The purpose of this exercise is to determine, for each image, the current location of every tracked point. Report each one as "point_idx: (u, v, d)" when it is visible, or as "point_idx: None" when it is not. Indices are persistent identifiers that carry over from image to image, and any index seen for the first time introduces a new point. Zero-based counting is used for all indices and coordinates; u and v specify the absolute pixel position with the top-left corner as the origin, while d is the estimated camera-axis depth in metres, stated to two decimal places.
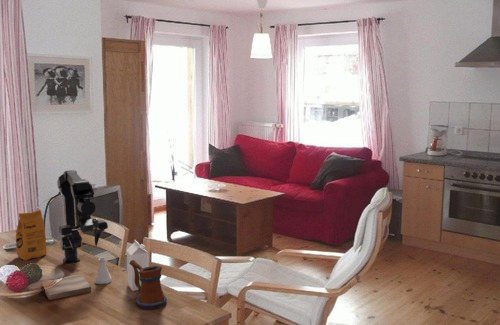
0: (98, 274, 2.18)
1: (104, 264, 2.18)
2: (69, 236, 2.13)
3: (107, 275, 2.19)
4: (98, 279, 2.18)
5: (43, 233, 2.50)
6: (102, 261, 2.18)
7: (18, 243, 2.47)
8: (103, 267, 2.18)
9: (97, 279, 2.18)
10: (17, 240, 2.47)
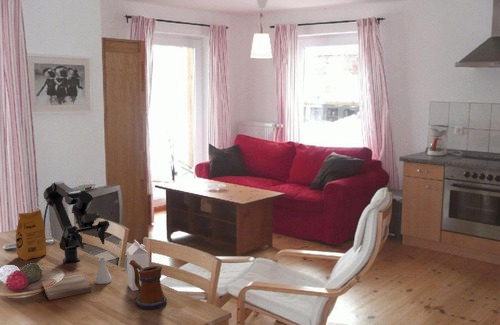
0: (98, 274, 2.18)
1: (104, 264, 2.18)
2: (75, 233, 2.21)
3: (107, 275, 2.19)
4: (98, 279, 2.18)
5: (43, 233, 2.50)
6: (102, 261, 2.18)
7: (18, 243, 2.47)
8: (103, 267, 2.18)
9: (97, 279, 2.18)
10: (17, 240, 2.47)
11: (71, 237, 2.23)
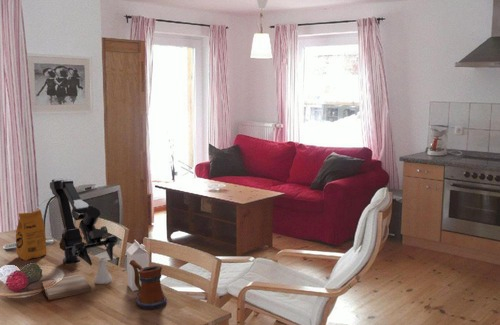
0: (98, 274, 2.18)
1: (104, 264, 2.18)
2: (83, 249, 2.16)
3: (107, 275, 2.19)
4: (98, 279, 2.18)
5: (43, 233, 2.50)
6: (102, 261, 2.18)
7: (18, 243, 2.47)
8: (103, 267, 2.18)
9: (97, 279, 2.18)
10: (17, 240, 2.47)
11: (79, 253, 2.18)
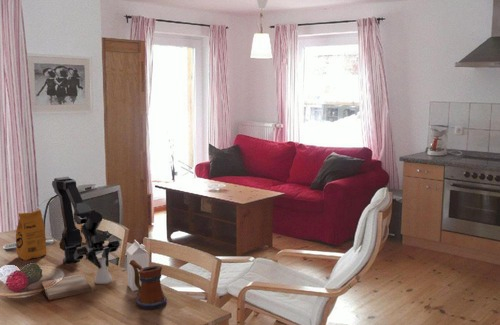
0: (98, 274, 2.18)
1: (104, 264, 2.18)
2: (92, 253, 2.17)
3: (107, 275, 2.19)
4: (98, 279, 2.18)
5: (43, 233, 2.50)
6: (102, 261, 2.18)
7: (18, 243, 2.47)
8: (103, 267, 2.18)
9: (97, 279, 2.18)
10: (17, 240, 2.47)
11: (88, 257, 2.18)
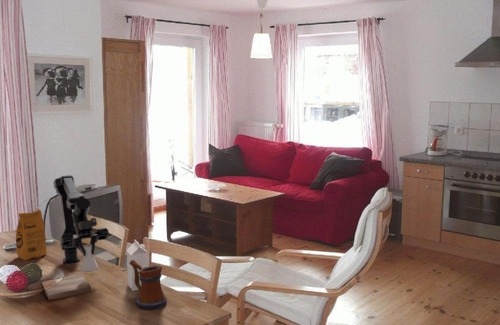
0: (83, 261, 2.14)
1: (89, 252, 2.14)
2: (77, 239, 2.13)
3: (92, 263, 2.14)
4: (83, 267, 2.13)
5: (43, 233, 2.50)
6: (87, 248, 2.13)
7: (18, 243, 2.47)
8: (88, 254, 2.13)
9: (82, 266, 2.14)
10: (17, 240, 2.47)
11: (74, 243, 2.15)
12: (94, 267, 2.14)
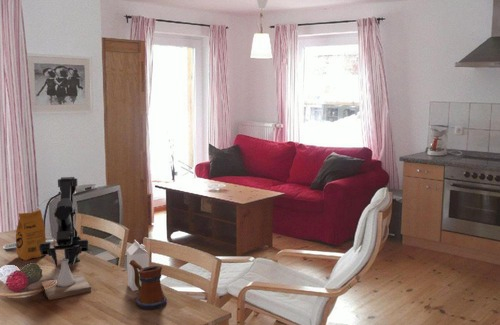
0: (59, 275, 2.11)
1: (65, 266, 2.10)
2: (51, 250, 2.10)
3: (67, 278, 2.10)
4: (58, 281, 2.11)
5: (43, 233, 2.50)
6: (63, 263, 2.10)
7: (18, 243, 2.47)
8: (64, 269, 2.10)
9: (58, 280, 2.11)
10: (17, 240, 2.47)
11: (49, 253, 2.12)
12: (69, 282, 2.10)
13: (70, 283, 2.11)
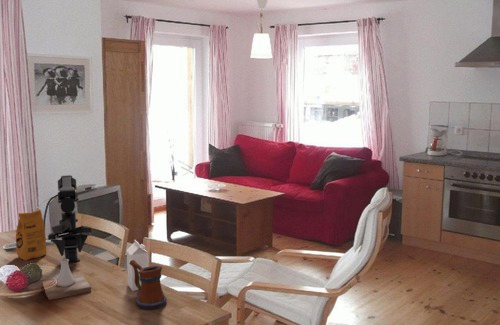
0: (59, 275, 2.11)
1: (65, 266, 2.10)
2: (53, 241, 2.23)
3: (67, 278, 2.10)
4: (58, 281, 2.11)
5: (43, 233, 2.50)
6: (63, 263, 2.10)
7: (18, 243, 2.47)
8: (64, 269, 2.10)
9: (58, 280, 2.11)
10: (17, 240, 2.47)
11: None
12: (69, 282, 2.10)
13: (70, 283, 2.11)
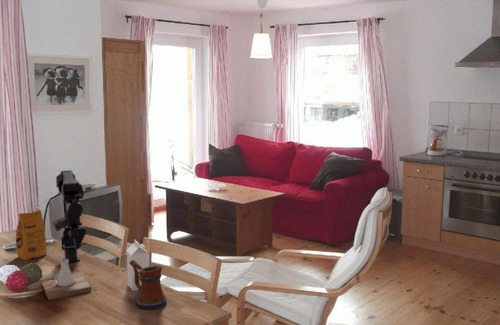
0: (59, 275, 2.11)
1: (65, 266, 2.10)
2: (65, 229, 2.28)
3: (67, 278, 2.10)
4: (58, 281, 2.11)
5: (43, 233, 2.50)
6: (63, 263, 2.10)
7: (18, 243, 2.47)
8: (64, 269, 2.10)
9: (58, 280, 2.11)
10: (17, 240, 2.47)
11: None
12: (69, 282, 2.10)
13: (70, 283, 2.11)
